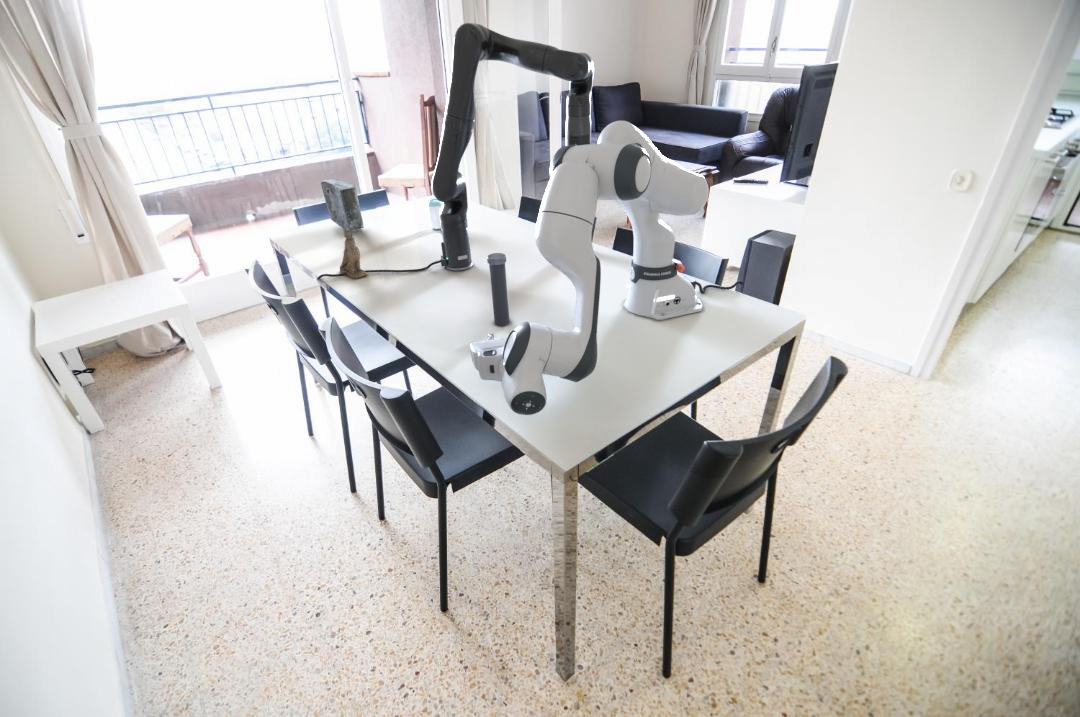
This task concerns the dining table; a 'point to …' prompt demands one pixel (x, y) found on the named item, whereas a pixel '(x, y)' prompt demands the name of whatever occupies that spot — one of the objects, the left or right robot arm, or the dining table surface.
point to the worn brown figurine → (351, 258)
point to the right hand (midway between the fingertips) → (509, 333)
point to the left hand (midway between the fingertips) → (577, 189)
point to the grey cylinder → (499, 294)
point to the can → (434, 213)
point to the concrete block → (342, 204)
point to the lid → (496, 259)
